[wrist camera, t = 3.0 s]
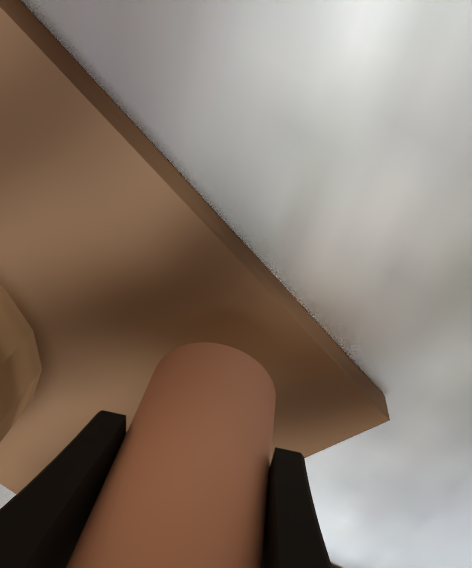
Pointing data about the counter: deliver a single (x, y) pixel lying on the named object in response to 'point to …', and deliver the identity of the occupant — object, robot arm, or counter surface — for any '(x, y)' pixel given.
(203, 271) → the board
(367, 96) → the counter surface
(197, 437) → the peg
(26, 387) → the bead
